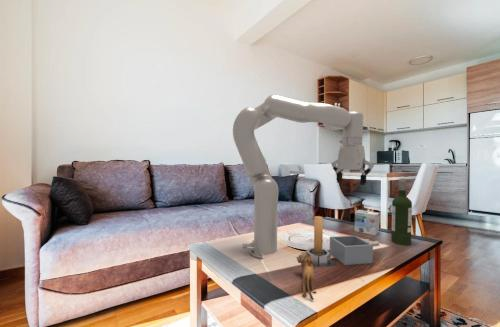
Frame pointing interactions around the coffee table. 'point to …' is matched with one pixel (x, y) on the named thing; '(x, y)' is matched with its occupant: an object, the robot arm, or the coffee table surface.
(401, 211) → the wine bottle
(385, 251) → the coffee table surface
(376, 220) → the light bulb box
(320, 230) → the strut
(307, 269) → the lion figurine
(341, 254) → the bin
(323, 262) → the socket plate
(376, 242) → the adjustable wrench
